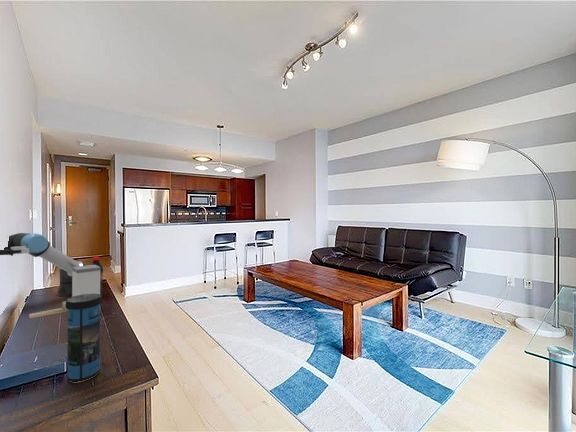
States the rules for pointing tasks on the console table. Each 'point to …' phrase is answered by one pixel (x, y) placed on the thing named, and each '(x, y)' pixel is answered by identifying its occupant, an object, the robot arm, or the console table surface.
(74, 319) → the advertising column
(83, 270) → the grey-banded white block
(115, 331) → the console table surface
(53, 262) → the robot arm
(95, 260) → the cola bottle
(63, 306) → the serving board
